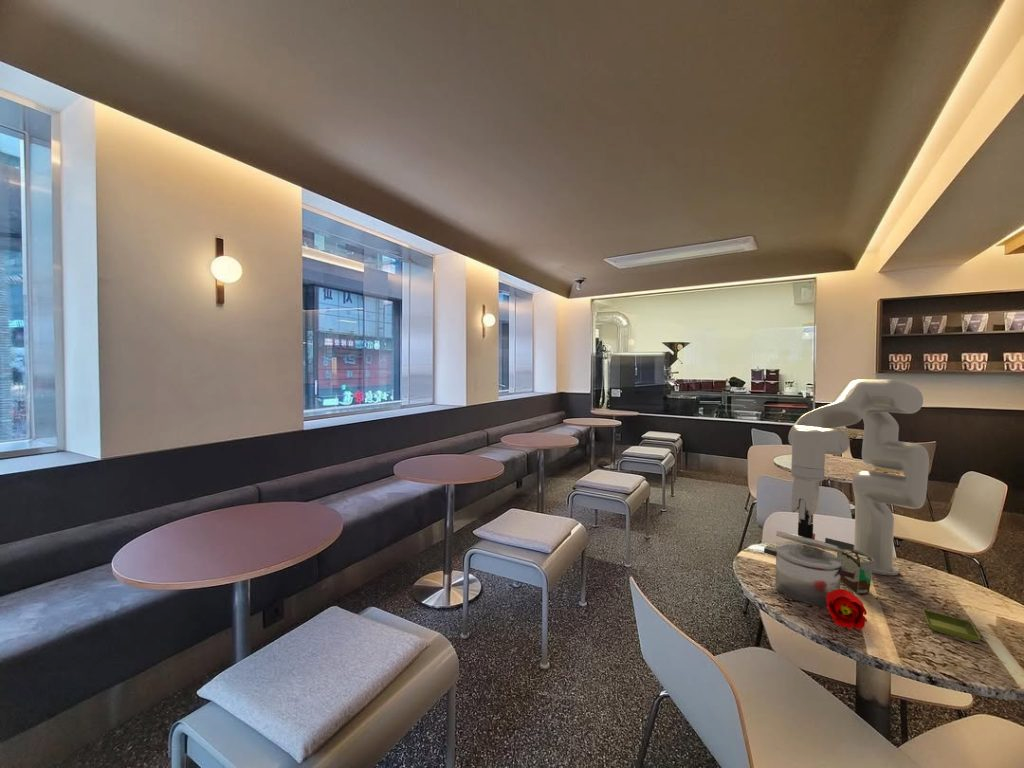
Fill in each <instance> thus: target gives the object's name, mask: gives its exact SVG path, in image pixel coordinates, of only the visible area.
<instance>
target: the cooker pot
mask: <svg viewBox="0 0 1024 768" xmlns="http://www.w3.org/2000/svg"><path fill="white" fill-rule="evenodd" d="M763 553H764V554H767V555H770V556H772V557H773V556H774V557H775V576H774V578H775V580H774V585H775V588H776V587H777V588H776V589H777V590H778V591H779V592H780V593H782V594H783V595H785V596H786V597H789V598H791V599H793V600H796V601H797V602H800V603H805V604H806V605H812V606H817V607H826V608H827V602H826V595H827V594H828V593H829V592H831V591H833V590H837V589H841V582H840V578H841V575H842V576H846V577H849V578H852V579H854V577H855V574H856V570H853V569H849V568H846V567H842V561H841V560H840V559H839V558H838V557H837V555H835V554H833V553H831V552H829V551H827V550H825V549H821V548H817V547H813V546H809V545H805V544H801V543H799V544H798V543H780V544H777V545H775V547H773V546H771V545H770V546H769V545H766V546H765V547H764V548H763Z"/></svg>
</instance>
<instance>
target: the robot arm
mask: <svg viewBox="0 0 1024 768" xmlns="http://www.w3.org/2000/svg"><path fill="white" fill-rule="evenodd" d="M923 405H924V397H923V395H922V392H921V390H919V388H917V387H916V386H913V385H912V384H909V383H906V382H904V381H902V380H897V379H887V378H885V379H884V378H882V379H876V378H875V379H870V378H865V379H864V378H863V379H861V378H860V379H855V380H854V379H853V380H851V381H850V382H848V383H847V384H846V385H845V386H844V387H843V389H842V390H841V391H840V392H839V393H838V394H837V396H836V397H835V398H834V399H833V400H832V402H831V403H829V404H826V405H823V406H820V407H818V408H815V409H813V410H810V411H808V412H806V413H804V414H803V415H801V416H800V417H798V419H797V420H796V421H795V422H794V424H793V425H792V426H791V428H790V430H789V432H788V436H787V438H788V443H789V445H790V446H791V467H790V468H791V470H790V472H791V473H790V476H791V477H792V478H793V483H792V492H791V502H790V503H791V504H790V511H791V512H792V513H795V512H796V511H798V514H797V515H798V523H797V535H798V536H802V537H806V538H810V539H812V537H813V533H814V514H815V513H817V511H818V510H819V503H820V482H823V481H824V480H825V462H826V460H825V459H826V457H825V456H826V455H830V456H832V455H833V456H839V455H842V454H844V453H845V452H847V450H848V449H849V446H850V438H849V436H848V435H847V433H846V432H844V431H843V430H841V429H837V428H843V427H849V426H853V425H856V424H858V423H859V422H861V420H862V421H863V424H864V425H863V428H864V429H863V437H862V438H863V439H862V445H861V446H862V447H861V459H862V462H863V463H864V464H865V465H867V466H869V467H873V468H879V469H884V470H890V471H895V472H896V471H897V472H901V473H904V475H897V474H892V473H885V472H881V471H875V470H861V471H858V472H856V473H855V474H854V475H853V477H852V479H851V480H852V481H851V482H852V489H853V495H854V505H855V509H854V511H855V512H854V542H853V543H854V544H853V545H855V547H854V549H855V550H858V551H861V552H864V553H866V554H868V555H870V556H871V557H872V558H873V560H874V561H875V565H876V568H875V569H873V570H872V574H876V575H883V576H897V575H899V574H900V569H899V568H898V567H897V566H896V565H894V563H893V559H894V558H893V557H894V554H893V553H894V530H895V529H894V528H895V527H894V526H895V517H894V514H893V512H892V510H891V509H890V508H889V506H888V505H893V506H896V507H897V506H898V507H901V508H906V509H913V510H918V509H921V508H922V507H923V506H924V505H925V503H926V500H927V499H926V498H927V491H928V480H929V469H930V457H929V456H930V455H929V452H928V450H927V448H926V447H924V445H921V444H919V443H915V442H908V441H907V442H906V441H900V440H899V433H900V426H899V424H898V421H897V420H896V419H895V418H894V417H893V416H892V414H893V413H894V414H908V415H909V414H915V413H917V412H918V411H920V410H921V408H922V407H923ZM890 413H892V414H890ZM887 504H888V505H887Z"/></svg>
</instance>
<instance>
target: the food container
mask: <svg viewBox="0 0 1024 768" xmlns="http://www.w3.org/2000/svg"><path fill="white" fill-rule="evenodd" d="M836 557H838V558H839V559H840V560H841V561H842V567H846V568H849V569H853V570H856V574H855V577H854V579H852V578H849V577H846V576H842V575H841V578H840V583H841V584H843V585H844V586H845V587H847V588H848V589H849V590H850V591H851V592H853V593H854V595H857V596H867V595H869V594H870V590H871V583H872V576H873V573H872V570H873V569H875V568H876V565H875V561H874V560H873V558H872V557H871V556H870V555H868V554H866V553H864V552H861V551H858V550H855V549H854V551H850V550H846V549H843V553H838V552H836Z"/></svg>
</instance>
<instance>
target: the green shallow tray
mask: <svg viewBox="0 0 1024 768" xmlns="http://www.w3.org/2000/svg"><path fill="white" fill-rule="evenodd" d="M921 610H922V613H923V615H924V618H925V620H926V623H927V625H928V626H929V628H930V629H931V630H933V632H937V633H941V634H945V635H948V636H953V637H954V638H955V637H956V638H958V639H962V640H965V641H970V642H975V641H978V640H980V639H981V637H980V635H979V633H978V630H977V629H976V628H975V625H974V624H973V623H972V622H971V621H969V620H966V619H962V618H958V617H954V616H950V615H946V614H942V613H939V612H936V611H932V610H928V609H921Z"/></svg>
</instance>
